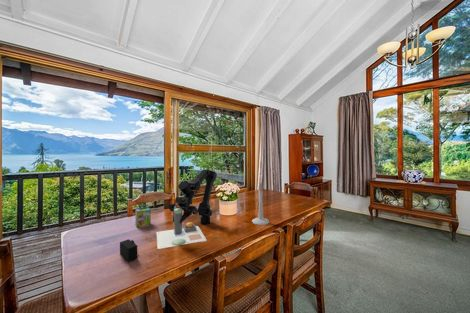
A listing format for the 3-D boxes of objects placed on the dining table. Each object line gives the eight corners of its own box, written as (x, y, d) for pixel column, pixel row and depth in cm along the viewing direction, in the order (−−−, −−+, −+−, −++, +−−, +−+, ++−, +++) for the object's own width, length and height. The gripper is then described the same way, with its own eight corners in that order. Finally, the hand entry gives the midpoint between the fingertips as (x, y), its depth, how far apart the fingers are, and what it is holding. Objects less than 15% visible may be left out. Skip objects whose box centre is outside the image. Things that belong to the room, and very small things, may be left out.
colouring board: (197, 226, 138) (197, 225, 138) (206, 241, 116) (206, 240, 116) (156, 232, 127) (156, 231, 127) (157, 250, 105) (157, 248, 105)
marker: (179, 230, 116) (179, 207, 116) (183, 232, 113) (183, 209, 113) (172, 233, 113) (172, 209, 112) (177, 235, 110) (177, 210, 109)
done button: (192, 225, 134) (192, 221, 134) (193, 227, 130) (193, 224, 130) (185, 226, 133) (185, 222, 132) (186, 228, 128) (186, 225, 128)
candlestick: (268, 219, 153) (269, 181, 152) (269, 225, 140) (270, 183, 139) (252, 218, 154) (252, 180, 153) (252, 224, 142) (252, 183, 141)
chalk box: (136, 228, 134) (136, 207, 133) (135, 224, 142) (134, 204, 141) (151, 225, 139) (151, 205, 138) (148, 221, 147) (148, 202, 146)
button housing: (193, 226, 136) (193, 223, 136) (196, 230, 130) (196, 227, 129) (183, 228, 133) (183, 225, 133) (184, 232, 127) (184, 229, 127)
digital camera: (140, 258, 97) (140, 244, 97) (128, 263, 93) (128, 248, 93) (131, 251, 104) (131, 238, 104) (120, 255, 100) (119, 241, 100)
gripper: (169, 190, 119) (156, 213, 109) (195, 192, 113) (184, 217, 103) (177, 200, 127) (165, 222, 117) (202, 202, 121) (192, 227, 111)
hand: (176, 222), depth 112 cm, fingers closed on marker, 4 cm apart
